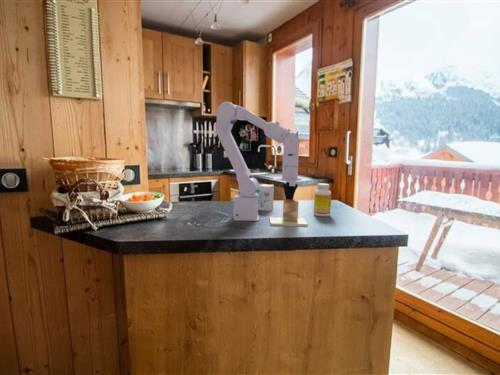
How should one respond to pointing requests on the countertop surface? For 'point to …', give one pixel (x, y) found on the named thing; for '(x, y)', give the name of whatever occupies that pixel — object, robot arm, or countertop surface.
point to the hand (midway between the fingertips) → (288, 202)
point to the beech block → (290, 210)
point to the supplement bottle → (322, 200)
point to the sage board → (279, 222)
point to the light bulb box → (265, 197)
